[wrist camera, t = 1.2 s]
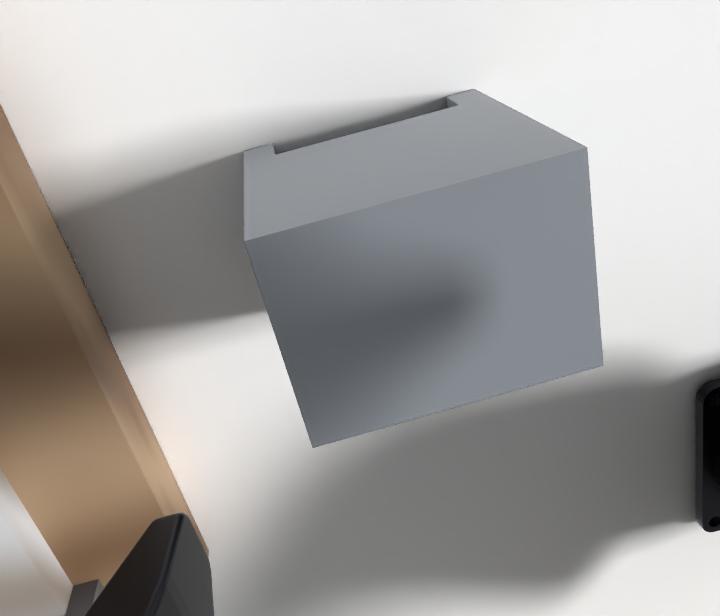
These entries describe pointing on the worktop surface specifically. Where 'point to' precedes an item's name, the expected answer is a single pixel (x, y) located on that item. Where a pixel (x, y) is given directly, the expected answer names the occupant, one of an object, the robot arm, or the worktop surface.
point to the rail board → (63, 421)
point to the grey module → (424, 264)
